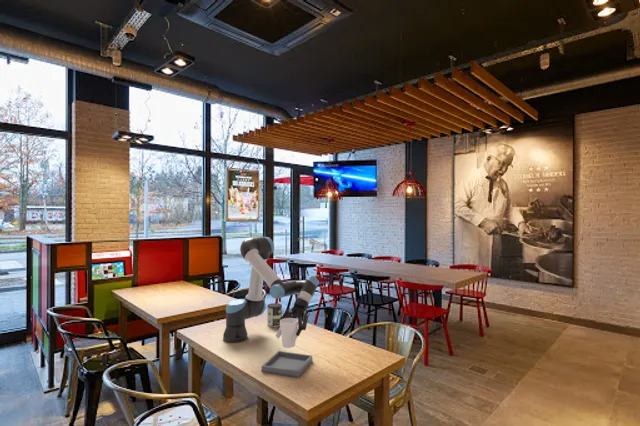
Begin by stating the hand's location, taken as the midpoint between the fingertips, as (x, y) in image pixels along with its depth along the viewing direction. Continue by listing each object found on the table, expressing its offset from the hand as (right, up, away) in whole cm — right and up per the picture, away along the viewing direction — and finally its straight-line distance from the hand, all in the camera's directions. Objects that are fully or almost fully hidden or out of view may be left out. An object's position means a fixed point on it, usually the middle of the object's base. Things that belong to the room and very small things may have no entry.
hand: (285, 339), depth 178 cm
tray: (+1, -15, +3) cm, 16 cm away
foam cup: (+2, -5, +3) cm, 6 cm away
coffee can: (-14, -15, +69) cm, 72 cm away
